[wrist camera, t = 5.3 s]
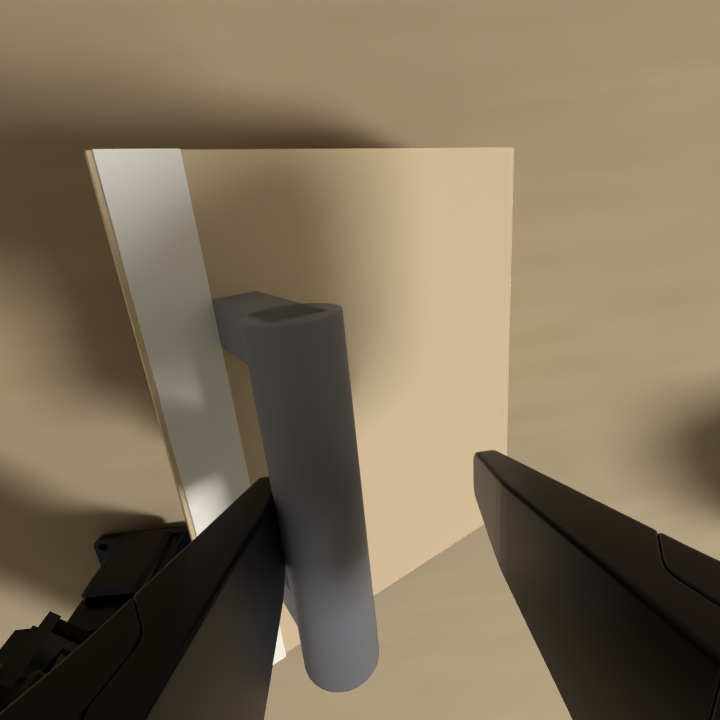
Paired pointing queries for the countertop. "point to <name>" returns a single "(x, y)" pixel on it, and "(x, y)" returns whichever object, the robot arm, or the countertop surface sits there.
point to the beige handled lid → (322, 354)
